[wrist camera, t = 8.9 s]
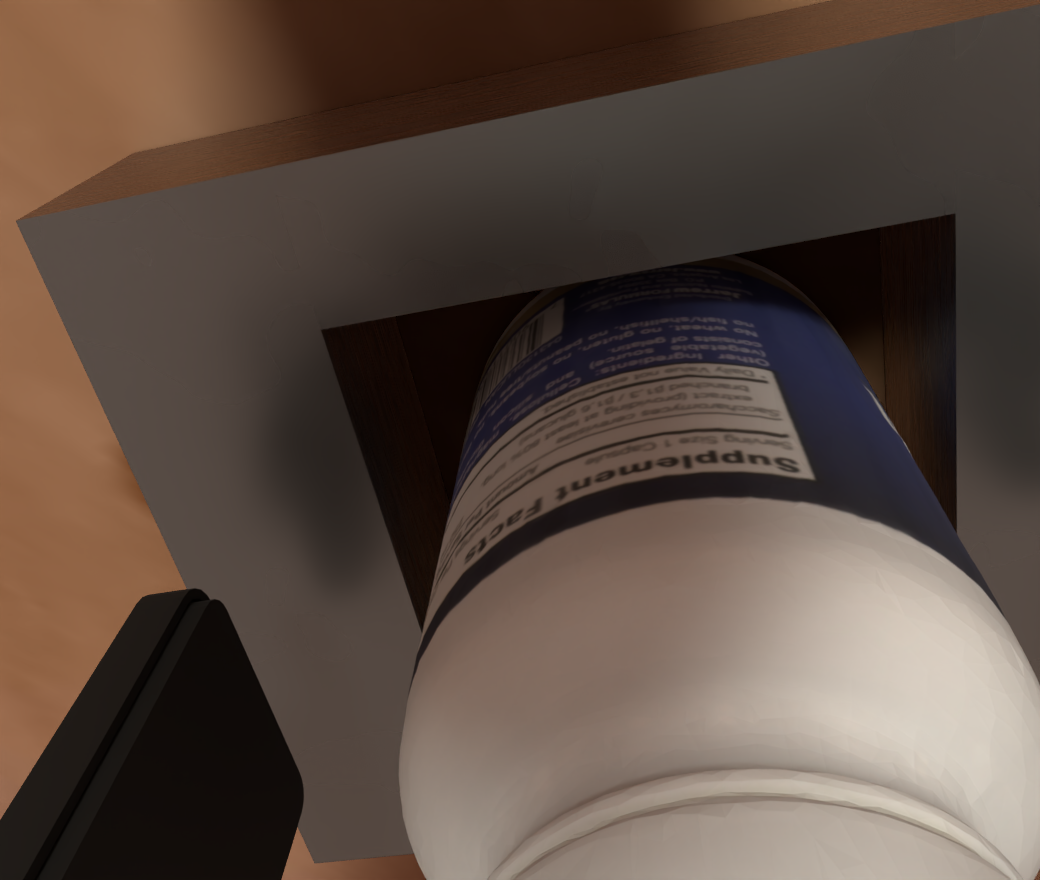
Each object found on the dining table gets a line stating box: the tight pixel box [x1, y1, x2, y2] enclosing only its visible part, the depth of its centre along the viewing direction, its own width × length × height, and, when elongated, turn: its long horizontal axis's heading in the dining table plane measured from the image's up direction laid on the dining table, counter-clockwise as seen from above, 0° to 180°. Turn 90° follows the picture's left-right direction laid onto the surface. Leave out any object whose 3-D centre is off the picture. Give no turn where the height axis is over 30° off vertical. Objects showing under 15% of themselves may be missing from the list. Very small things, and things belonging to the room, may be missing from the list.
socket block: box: [16, 0, 1040, 863], centre depth 13 cm, size 12×10×3 cm
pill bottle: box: [399, 255, 1040, 880], centre depth 10 cm, size 5×5×10 cm
